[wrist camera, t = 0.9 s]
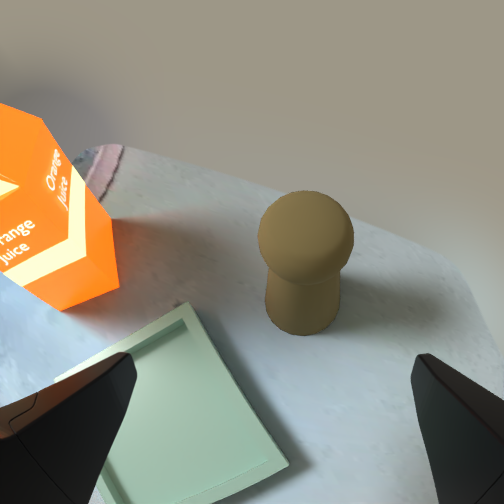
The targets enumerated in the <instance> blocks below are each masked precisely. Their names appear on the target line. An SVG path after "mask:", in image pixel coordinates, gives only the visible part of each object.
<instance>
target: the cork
mask: <svg viewBox="0 0 504 504" xmlns="http://www.w3.org/2000/svg"><path fill="white" fill-rule="evenodd" d="M258 242H259V248H260V252H261V255H262V257H263V259H264V261H265V262H266V264H267V266H268V267H269V271H268V279H267V287H266V295H265V305H266V311H267V313H268V315H269V317H270V319H271V321H272V322H273V323H274V324H275V325H276V326H277V327H278V328H280V329H281V330H283V331H285V332H287V333H289V334H292V335H300V336H306V335H311V334H316V333H318V332H320V331H322V330H323V329H325V328H327V327H328V326H329V325H330V323H331V322H332V321H333V320H334V319H335V317H336V315H337V312H338V310H339V303H340V270H341V269H342V268H343V267H344V266H345V265H346V263H347V261H348V259H349V257H350V254H351V252H352V249H353V246H354V231H353V226H352V223H351V220H350V218H349V215H348V214H347V213H346V211H345V210H344V209H343V208H342V206H341V205H340V204H339V203H338V202H336V201H335V200H334V199H332V198H331V197H329V196H327V195H325V194H321V193H319V192H315V191H298V192H292V193H289V194H287V195H285V196H282V197H280V198H279V199H278V200H277V201H275V202H274V203H273V204H272V205H271V206H270V207H268V209H267V210H266V212H265V213H264V215H263V217H262V218H261V222H260V227H259V232H258Z"/></svg>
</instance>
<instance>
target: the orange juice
mask: <svg viewBox="0 0 504 504" xmlns="http://www.w3.org/2000/svg"><path fill="white" fill-rule="evenodd" d="M0 271H1V272H3V274H4V275H6V276H7V277H9V278H10V279H11V280H13V281H14V282H15V283H17V284H18V285H20V286H21V287H24V288H25V289H27V290H28V291H29V292H31V293H32V294H34V295H35V296H37V297H38V298H40V299H41V300H43V301H44V302H46V303H48V304H49V305H51V306H52V307H54V308H55V309H57V310H59V311H62V310H64V309H66V308H69V307H71V306H74V305H76V304H79V303H81V302H84V301H86V300H89V299H91V298H94V297H96V296H99V295H101V294H103V293H106V292H108V291H111V290H113V289H116V288H118V287H119V281H118V274H117V267H116V259H115V251H114V243H113V234H112V224H111V218H110V217H109V216H108V214H107V213H106V212H105V210H104V209H103V208H102V206H101V205H100V204H99V202H98V201H97V200H96V198H95V197H94V196H93V194H92V193H91V192H90V190H89V189H88V187H87V186H86V185H85V182H84V181H83V180H82V178H81V177H80V175H79V174H78V172H77V171H76V170H75V168H74V167H73V166H72V165H71V163H70V162H69V160H68V159H67V158H66V156H65V155H64V153H63V152H62V150H61V149H60V147H59V146H58V144H57V143H56V141H55V140H54V138H53V137H52V135H51V134H50V132H49V131H48V129H47V127H46V126H45V124H44V123H43V119H41V118H38V117H35V116H33V115H30V114H27V113H25V112H22V111H19V110H17V109H14V108H12V107H9V106H6V105H3V104H1V103H0Z"/></svg>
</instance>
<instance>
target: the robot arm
mask: <svg viewBox="0 0 504 504" xmlns="http://www.w3.org/2000/svg"><path fill="white" fill-rule="evenodd" d="M136 381H137V370H136V367H135V364H134V361H133V357H132V355H131V354H130V353H127V352H117V353H115V354H113V355H111V356H109V357H107V358H105V359H103V360H101V361H99V362H97V363H95V364H93V365H91V366H89V367H87V368H85V369H83V370H81V371H79V372H77V373H75V374H73V375H71V376H69V377H67V378H65V379H63V380H61V381H59V382H57V383H55V384H53V385H51V386H49V387H46V388H44V389H42V390H40V391H39V392H36V393H34V394H32V395H30V396H28V397H25V398H23V399H21V400H19V401H16V402H14V403H11V404H9V405H6V406H3V407H1V408H0V504H88V503H89V500H90V498H91V495H92V493H93V490H94V488H95V485H96V483H97V480H98V478H99V475H100V473H101V471H102V468H103V466H104V463H105V461H106V459H107V456H108V454H109V452H110V449H111V447H112V445H113V442H114V440H115V438H116V435H117V433H118V431H119V429H120V426H121V424H122V422H123V419H124V417H125V415H126V412H127V409H128V406H129V402H130V399H131V396H132V393H133V390H134V387H135V384H136ZM411 385H412V390H413V395H414V401H415V406H416V412H417V417H418V422H419V426H420V430H421V433H422V437H423V440H424V444H425V447H426V451H427V455H428V459H429V462H430V466H431V470H432V475H433V479H434V483H435V487H436V492H437V496H438V501H439V504H504V400H502V399H501V398H499V397H498V396H496V395H494V394H493V393H491V392H490V391H488V390H487V389H485V388H484V387H482V386H480V385H479V384H477V383H476V382H474V381H472V380H471V379H469V378H468V377H466V376H465V375H463V374H461V373H460V372H458V371H457V370H455V369H454V368H452V367H450V366H449V365H447V364H446V363H444V362H442V361H441V360H439V359H438V358H436V357H435V356H433V355H431V354H429V353H426V354H419V355H417V357H416V359H415V363H414V366H413V370H412V373H411Z"/></svg>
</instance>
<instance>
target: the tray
mask: <svg viewBox="0 0 504 504" xmlns="http://www.w3.org/2000/svg"><path fill="white" fill-rule="evenodd" d="M117 352H127V353H130V354H131V355H132V357H133V361H134V364H135V367H136V370H137V381H136V384H135V387H134V390H133V393H132V396H131V399H130V402H129V406H128V409H127V412H126V415H125V417H124V419H123V422H122V424H121V426H120V429H119V431H118V433H117V435H116V438H115V440H114V442H113V445H112V447H111V449H110V452H109V454H108V456H107V459H106V461H105V463H104V466H103V468H102V471H101V473H100V475H99V478H98V480H97V483H96V486H97V488H98V490H99V492H100V494H101V496H102V498H103V500H104V501H105V503H106V504H211V503H214V502H216V501H218V500H221V499H223V498H225V497H228V496H230V495H232V494H234V493H236V492H239V491H241V490H243V489H245V488H247V487H249V486H251V485H253V484H255V483H257V482H259V481H261V480H263V479H265V478H267V477H269V476H271V475H273V474H275V473H276V472H278V471H280V470H282V469H284V468H285V467H287V466H289V461H288V459H287V458H286V456H285V455H284V454H283V452H282V451H281V449H280V448H279V446H278V445H277V443H276V442H275V440H274V439H273V437H272V436H271V435H270V433H269V432H268V430H267V429H266V427H265V426H264V424H263V423H262V421H261V419H260V418H259V416H258V415H257V413H256V412H255V410H254V409H253V407H252V406H251V404H250V402H249V401H248V399H247V398H246V396H245V395H244V393H243V391H242V390H241V388H240V387H239V385H238V383H237V382H236V380H235V378H234V377H233V375H232V373H231V372H230V370H229V369H228V367H227V365H226V364H225V362H224V360H223V359H222V357H221V355H220V353H219V352H218V350H217V348H216V347H215V345H214V343H213V341H212V340H211V338H210V336H209V334H208V333H207V331H206V329H205V327H204V326H203V324H202V322H201V320H200V319H199V317H198V315H197V313H196V311H195V310H194V308H193V307H192V306H191V305H190V303H189V302H188V301H187V302H185V303H184V304H182V305H180V306H179V307H177V308H175V309H173V310H172V311H170V312H168V313H167V314H165V315H163V316H161V317H160V318H158V319H156V320H155V321H153V322H151V323H150V324H148V325H146V326H144V327H143V328H141V329H139V330H138V331H136V332H134V333H132V334H131V335H129V336H127V337H125V338H124V339H122V340H120V341H119V342H117V343H115V344H113V345H112V346H110V347H108V348H107V349H105V350H103V351H101V352H100V353H98V354H96V355H94V356H93V357H91V358H89V359H88V360H86V361H84V362H82V363H81V364H79V365H77V366H75V367H74V368H72V369H70V370H68V371H67V372H65V373H63V374H61V375H60V376H58V377H56V378H54V382H55V383H57V382H59V381H61V380H63V379H65V378H67V377H69V376H71V375H73V374H75V373H77V372H79V371H81V370H83V369H85V368H87V367H89V366H91V365H93V364H95V363H97V362H99V361H101V360H103V359H105V358H107V357H109V356H111V355H113V354H115V353H117Z"/></svg>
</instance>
